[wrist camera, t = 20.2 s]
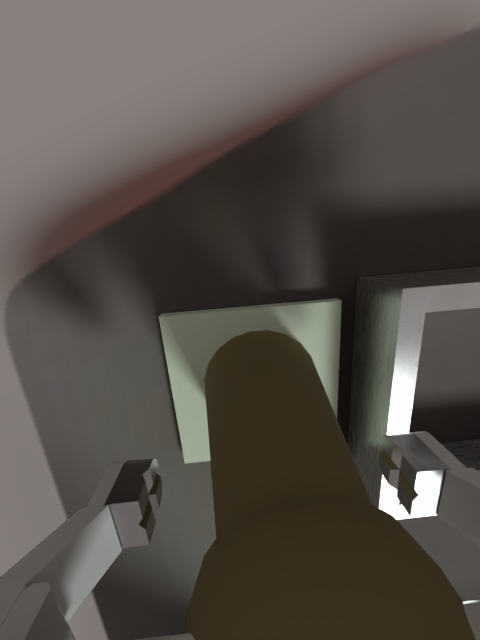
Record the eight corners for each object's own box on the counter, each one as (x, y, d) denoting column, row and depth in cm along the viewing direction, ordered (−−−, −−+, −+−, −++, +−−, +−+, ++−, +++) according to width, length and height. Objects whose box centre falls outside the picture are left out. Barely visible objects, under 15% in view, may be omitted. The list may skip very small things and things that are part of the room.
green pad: (186, 455, 15) (184, 463, 15) (161, 313, 13) (158, 316, 12) (331, 440, 16) (335, 448, 15) (336, 298, 13) (341, 300, 12)
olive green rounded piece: (241, 446, 15) (274, 954, 4) (181, 367, 13) (-7, 869, 3) (334, 398, 14) (650, 854, 4) (283, 307, 12) (593, 659, 2)
